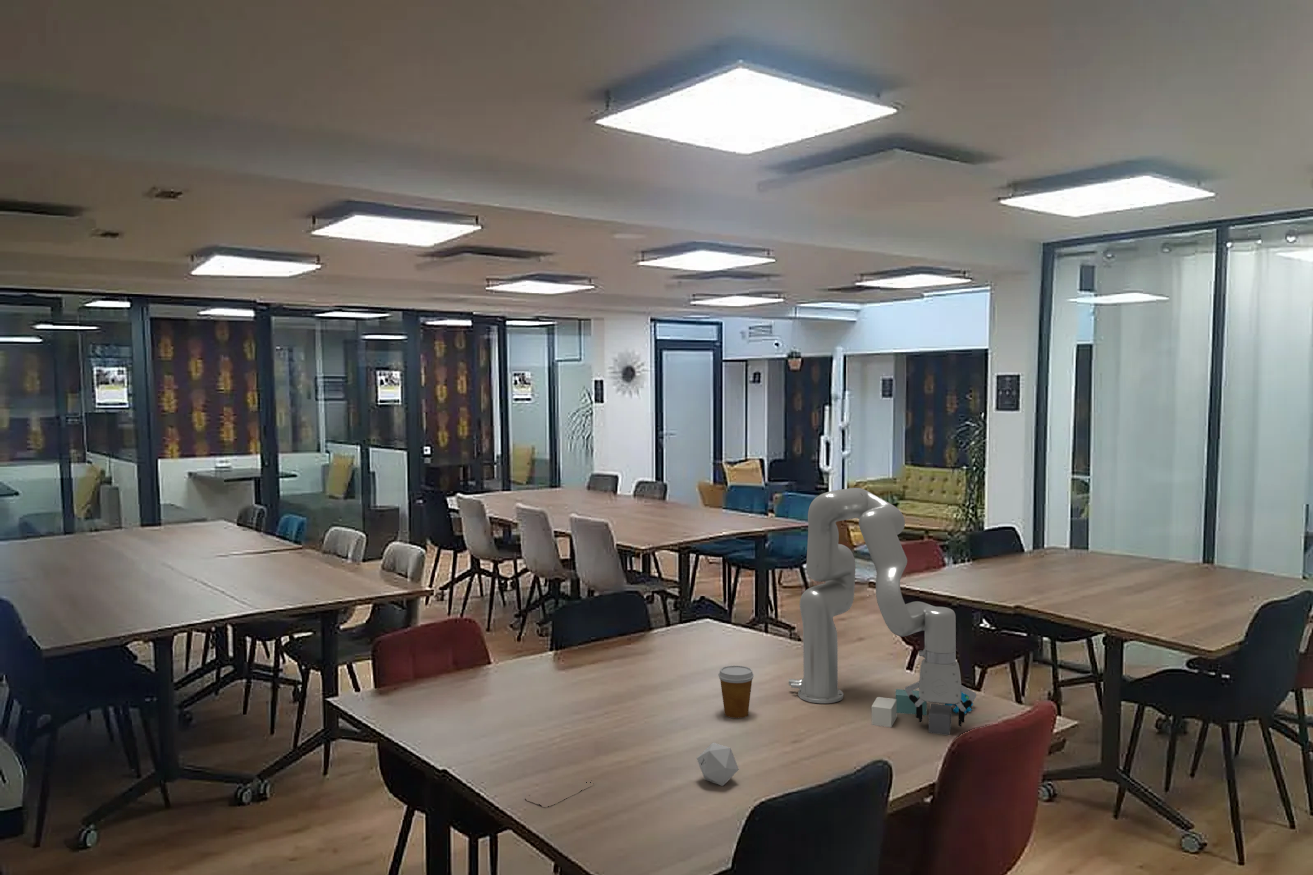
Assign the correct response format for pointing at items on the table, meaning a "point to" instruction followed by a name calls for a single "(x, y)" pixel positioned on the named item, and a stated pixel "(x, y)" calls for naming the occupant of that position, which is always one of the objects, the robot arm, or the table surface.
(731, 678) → the disposable coffee cup
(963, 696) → the gear
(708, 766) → the die
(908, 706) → the teal block
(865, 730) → the table surface
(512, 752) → the table surface
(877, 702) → the cream block
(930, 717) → the charcoal block
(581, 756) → the table surface
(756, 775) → the table surface
